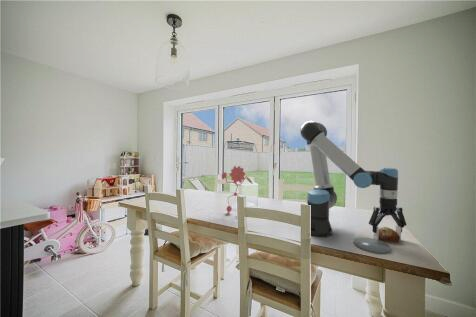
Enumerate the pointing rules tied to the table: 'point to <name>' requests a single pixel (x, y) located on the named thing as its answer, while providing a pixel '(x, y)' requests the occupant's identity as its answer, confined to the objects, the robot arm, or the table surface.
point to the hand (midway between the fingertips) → (387, 238)
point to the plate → (371, 245)
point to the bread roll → (388, 235)
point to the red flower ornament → (235, 180)
